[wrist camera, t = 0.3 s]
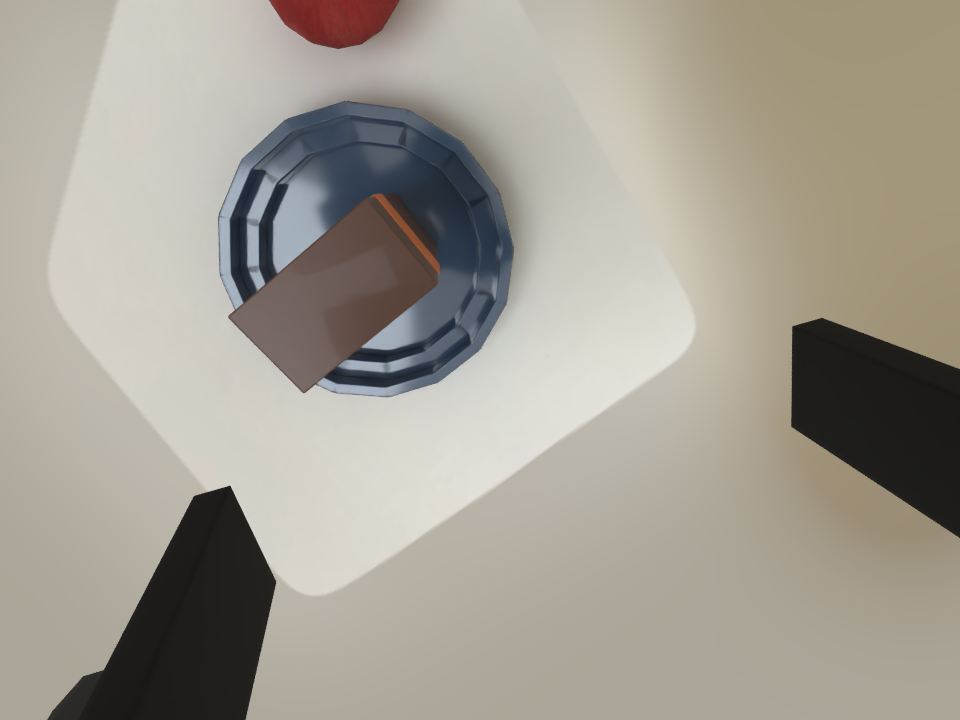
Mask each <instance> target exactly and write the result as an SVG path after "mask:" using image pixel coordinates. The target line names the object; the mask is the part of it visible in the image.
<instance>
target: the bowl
mask: <svg viewBox="0 0 960 720" xmlns="http://www.w3.org/2000/svg"><path fill="white" fill-rule="evenodd" d="M380 193H381V194H383V195H385V194H391V193H396V194H397V196H398V197H399V198H400V199H401V201H402V202H403V203H404V204H405V206H406V207H407V208H408V209H409V210H410V212H411V213H412V214H413V215H414V217H415V218H416V219H417V220H418V222H419V223H420V224H421V225H422V227H423V228H424V229H425V230H426V231H427V233H428V234H429V235H430V236H431V238H432V239H433V240H434V241H435V243H436V244H437V245H438V263H439V264H440V274H439V275H438V285H437V286H436V287H435V288H433V289H432V290H431V291H430V292H428V293H427V294H426V295H425V296H423V297H422V298H421V299H420V300H419V301H417V302H416V303H415V304H414V305H412V306H411V307H410V308H409V309H407V310H406V311H405V312H404V313H403V314H401V315H400V316H399V317H398V318H396V319H395V320H394V321H393V322H392V323H390V324H389V325H388V326H387V327H385V328H384V329H383V330H382V331H380V332H379V333H378V334H377V335H376V336H374V337H373V338H372V339H371V340H369V341H368V342H367V343H366V344H364V345H363V346H362V347H361V348H360V349H358V350H357V351H356V352H355V353H353V354H352V355H351V356H350V357H349V358H347V359H346V360H345V361H344V362H342V363H341V364H340V365H339V366H337V367H336V368H335V369H334V370H333V371H331V372H330V373H329V374H328V375H326V376H325V377H324V378H323V379H321V380H320V381H319V382H318V383H317V384H316V385H318V386H320V387H323V388H325V389H327V390H329V391H331V392H335V393H341V394H354V395H366V396H379V397H391V396H394V395H398V394H401V393H405V392H408V391H411V390H415V389H418V388H422V387H425V386H428V385H432V384H435V383H438V382H440V381H441V380H442V379H444V378H445V377H446V376H447V375H449V374H450V373H451V372H453V371H454V370H455V369H456V368H458V367H459V366H460V365H461V364H463V363H464V362H465V361H467V360H468V359H469V358H470V357H472V356H473V355H474V354H476V353H477V352H478V351H479V350H480V349H481V348H482V346H483V344H484V342H485V341H486V339H487V337H488V335H489V334H490V332H491V330H492V328H493V327H494V325H495V323H496V321H497V320H498V318H499V316H500V314H501V313H502V311H503V309H504V307H505V306H506V303H507V297H508V290H509V282H510V275H511V267H512V260H513V252H514V248H513V247H514V246H513V242H512V239H511V235H510V231H509V227H508V223H507V219H506V216H505V212H504V208H503V204H502V200H501V196H500V193H499V192H498V189H497V188H496V186H495V185H494V184H493V182H492V181H491V180H490V178H489V177H488V176H487V174H486V173H485V172H484V170H483V169H482V168H481V166H480V165H479V163H478V162H477V161H476V159H475V158H474V157H473V155H472V154H471V153H470V151H469V150H468V149H467V147H466V146H465V145H464V143H462V142H461V141H460V140H458V139H457V138H455V137H453V136H452V135H450V134H448V133H447V132H445V131H443V130H442V129H440V128H438V127H437V126H435V125H433V124H432V123H430V122H428V121H427V120H425V119H423V118H422V117H420V116H418V115H417V114H415V113H414V112H412V111H410V110H407V109H402V108H394V107H387V106H379V105H372V104H365V103H357V102H350V101H346V102H345V101H344V102H340V103H337V104H334V105H331V106H327V107H324V108H321V109H317V110H314V111H311V112H308V113H304V114H301V115H298V116H294V117H291V118H288V119H287V120H284V121H283V122H282V123H281V124H280V125H279V126H278V127H277V128H276V129H275V130H273V131H272V132H271V133H270V134H269V135H268V136H267V137H266V138H265V139H264V140H262V141H261V142H260V143H259V144H258V145H257V146H256V147H255V148H254V149H253V150H252V151H250V152H249V153H248V154H247V155H246V156H245V157H244V158H243V159H242V161H241V162H240V164H239V166H238V169H237V171H236V174H235V176H234V178H233V181H232V183H231V186H230V188H229V191H228V193H227V195H226V198H225V200H224V203H223V205H222V207H221V210H220V212H219V216H218V227H219V266H220V277H221V279H222V281H223V284H224V286H225V288H226V291H227V293H228V295H229V297H230V300H231V302H232V304H233V306H234V309H235V310H236V309H237V308H238V307H239V306H241V305H242V304H243V303H244V302H245V301H246V300H247V299H249V298H250V297H251V296H252V295H253V294H254V293H256V292H257V291H258V290H259V289H260V288H261V287H263V286H264V285H265V284H266V283H267V282H268V281H270V280H271V279H272V278H273V277H274V276H275V275H277V274H278V273H279V272H280V271H281V270H282V269H283V268H285V267H286V266H287V265H288V264H289V263H290V262H292V261H293V260H294V259H295V258H296V257H297V256H299V255H300V254H301V253H302V252H303V251H304V250H306V249H307V248H308V247H309V246H310V245H311V244H313V243H314V242H315V241H316V240H317V239H318V238H319V237H321V236H322V235H323V234H324V233H325V232H326V231H328V230H329V229H330V228H331V227H332V226H333V225H335V224H336V223H337V222H338V221H339V220H340V219H342V218H343V217H344V216H345V215H346V214H347V213H349V212H350V211H351V210H352V209H353V208H354V207H355V206H357V205H358V204H359V203H360V202H361V201H362V200H364V199H365V198H368V197H371V196H372V195H374V194H380Z"/></svg>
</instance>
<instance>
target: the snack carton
mask: <svg viewBox="0 0 960 720" xmlns="http://www.w3.org/2000/svg"><path fill="white" fill-rule="evenodd" d="M439 274H440V264H439V263H438V245H437V244H436V243H435V241H434V240H433V239H432V238H431V236H430V235H429V234H428V233H427V231H426V230H425V229H424V228H423V227H422V225H421V224H420V223H419V222H418V220H417V219H416V218H415V217H414V215H413V214H412V213H411V212H410V210H409V209H408V208H407V207H406V206H405V204H404V203H403V202H402V201H401V199H400V198H399V197H398V196H397V194H396V193H391V194H385V195H383V194H381V193H380V194H374V195H372V196H371V197H368V198H365V199H364V200H362V201H361V202H360V203H359V204H358V205H357V206H355V207H354V208H353V209H352V210H351V211H350V212H349V213H347V214H346V215H345V216H344V217H343V218H342V219H340V220H339V221H338V222H337V223H336V224H335V225H333V226H332V227H331V228H330V229H329V230H328V231H326V232H325V233H324V234H323V235H322V236H321V237H319V238H318V239H317V240H316V241H315V242H314V243H313V244H311V245H310V246H309V247H308V248H307V249H306V250H304V251H303V252H302V253H301V254H300V255H299V256H297V257H296V258H295V259H294V260H293V261H292V262H290V263H289V264H288V265H287V266H286V267H285V268H283V269H282V270H281V271H280V272H279V273H278V274H277V275H275V276H274V277H273V278H272V279H271V280H270V281H268V282H267V283H266V284H265V285H264V286H263V287H261V288H260V289H259V290H258V291H257V292H256V293H254V294H253V295H252V296H251V297H250V298H249V299H247V300H246V301H245V302H244V303H243V304H242V305H241V306H239V307H238V308H237V309H236V310H235V311H234V312H232V313H231V314H230V315H229V316H228V318H229V319H230V320H231V321H232V322H233V323H234V324H235V325H236V326H237V327H238V328H239V329H240V330H241V331H242V332H243V333H244V334H245V335H246V336H247V337H248V338H249V339H250V340H251V341H252V342H253V343H254V344H255V345H256V346H257V347H258V348H259V349H260V350H261V351H262V352H263V353H264V354H265V355H266V356H267V357H268V358H269V359H270V360H271V361H272V362H273V363H274V364H275V365H276V366H277V367H278V368H279V369H280V370H281V371H282V372H283V373H284V374H285V375H286V376H287V377H288V378H289V379H290V380H291V381H292V382H293V383H294V384H295V385H296V386H297V387H298V388H299V389H300V390H301V391H302V392H303V393H306V392H307V391H308V390H309V389H310V388H312V387H313V386H314V385H315V384H317V383H318V382H319V381H320V380H321V379H323V378H324V377H325V376H326V375H328V374H329V373H330V372H331V371H333V370H334V369H335V368H336V367H337V366H339V365H340V364H341V363H342V362H344V361H345V360H346V359H347V358H349V357H350V356H351V355H352V354H353V353H355V352H356V351H357V350H358V349H360V348H361V347H362V346H363V345H364V344H366V343H367V342H368V341H369V340H371V339H372V338H373V337H374V336H376V335H377V334H378V333H379V332H380V331H382V330H383V329H384V328H385V327H387V326H388V325H389V324H390V323H392V322H393V321H394V320H395V319H396V318H398V317H399V316H400V315H401V314H403V313H404V312H405V311H406V310H407V309H409V308H410V307H411V306H412V305H414V304H415V303H416V302H417V301H419V300H420V299H421V298H422V297H423V296H425V295H426V294H427V293H428V292H430V291H431V290H432V289H433V288H435V287H436V286H437V285H438V275H439Z"/></svg>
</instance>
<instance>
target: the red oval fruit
mask: <svg viewBox="0 0 960 720" xmlns="http://www.w3.org/2000/svg"><path fill="white" fill-rule="evenodd" d="M269 1H270V2H271V4H272V5H273V7H274V9H275V10H276V12H277V13H278V15H279V16H280V18H281V19H282V21H283V22H284V24H285V25H286V26H288V27H289V28H291V29H292V30H294V31H295V32H297V33H298V34H299V35H301V36H302V37H304V38H305V39H307V40H308V41H310V42H312V43H313V44H318V45H322V46H327V47H332V48H336V49H340V48H345V47H350V46H355V45H360V44H363V43H364V42H365V41H367V40H368V39H370V38H371V37H372V36H374V35H375V34H377V33H378V32H380V31H381V30H382V29H383V27H384V25H385V24H386V22H387V21H388V19H389V17H390V16H391V14H392V12H393V11H394V9H395V7H396V6H397V4H398V2H399V0H269Z"/></svg>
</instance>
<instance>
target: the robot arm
mask: <svg viewBox="0 0 960 720" xmlns="http://www.w3.org/2000/svg"><path fill="white" fill-rule="evenodd" d="M791 423H792V424H791V425H792V426H791V427H793V428H794V429H796V430H797V431H799V432H800V433H802V434H803V435H805V436H806V437H808V438H809V439H811V440H812V441H814V442H815V443H817V444H818V445H820V446H821V447H823V448H824V449H826V450H828V451H829V452H830V453H832V454H833V455H835V456H837V457H838V458H839V459H841V460H843V461H844V462H846V463H847V464H849V465H850V466H852V467H853V468H855V469H856V470H858V471H859V472H861V473H862V474H864V475H865V476H867V477H868V478H870V479H871V480H873V481H874V482H876V483H877V484H879V485H880V486H882V487H884V488H885V489H886V490H888V491H890V492H891V493H893V494H894V495H896V496H897V497H899V498H900V499H902V500H903V501H905V502H906V503H908V504H909V505H911V506H912V507H914V508H915V509H917V510H918V511H920V512H921V513H923V514H925V515H926V516H927V517H929V518H930V519H932V520H933V521H935V522H937V523H938V524H940V525H941V526H943V527H944V528H946V529H947V530H949V531H950V532H952V533H953V534H955V535H956V536H958V537H959V538H960V369H958V368H955V367H952V366H950V365H947V364H944V363H941V362H939V361H936V360H934V359H931V358H928V357H926V356H923V355H920V354H918V353H915V352H912V351H909V350H907V349H904V348H901V347H899V346H896V345H893V344H890V343H888V342H885V341H883V340H880V339H877V338H875V337H872V336H869V335H867V334H864V333H861V332H858V331H856V330H853V329H850V328H848V327H845V326H842V325H839V324H837V323H834V322H832V321H828V320H826V319H824V318H820V319H817V320H813V321H810V322H806V323H803V324H799V325H796V326H793V327H792V418H791ZM275 585H276V580H275V578H274V576H273V574H272V572H271V570H270V568H269V566H268V564H267V561H266V559H265V557H264V555H263V553H262V551H261V549H260V547H259V545H258V543H257V541H256V538H255V536H254V534H253V532H252V530H251V528H250V526H249V524H248V522H247V520H246V518H245V516H244V513H243V511H242V509H241V507H240V505H239V503H238V501H237V499H236V497H235V495H234V493H233V490H232V488H231V486H228V487H224V488H220V489H217V490H213V491H210V492H206V493H203V494H199V495H196V496H194V497H193V499H192V501H191V503H190V505H189V507H188V509H187V510H186V513H185V514H184V517H183V518H182V520H181V522H180V524H179V526H178V528H177V530H176V532H175V534H174V536H173V538H172V540H171V541H170V543H169V546H168V547H167V549H166V551H165V553H164V555H163V557H162V559H161V561H160V563H159V565H158V567H157V569H156V570H155V572H154V574H153V576H152V578H151V580H150V582H149V584H148V586H147V588H146V590H145V592H144V594H143V596H142V598H141V600H140V601H139V603H138V605H137V607H136V609H135V611H134V613H133V615H132V617H131V619H130V621H129V623H128V625H127V627H126V628H125V630H124V632H123V634H122V636H121V638H120V640H119V642H118V644H117V646H116V648H115V650H114V652H113V654H112V655H111V658H110V660H109V662H108V663H107V665H106V667H105V669H104V670H103V671H100V672H96V673H93V674H90V675H87V676H83V677H82V678H81V680H80V681H79V682H78V683H77V684H76V685H75V686H74V687H73V689H72V690H71V691H70V692H69V693H68V694H67V695H66V696H65V698H64V699H63V700H62V701H61V702H60V703H59V704H58V705H57V707H56V708H55V709H54V710H53V711H52V713H51V715H50V716H49V718H48V720H245V719H246V715H247V711H248V706H249V702H250V697H251V693H252V688H253V683H254V679H255V675H256V670H257V666H258V661H259V656H260V652H261V648H262V643H263V639H264V634H265V630H266V626H267V621H268V617H269V612H270V607H271V603H272V599H273V594H274V590H275Z"/></svg>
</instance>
